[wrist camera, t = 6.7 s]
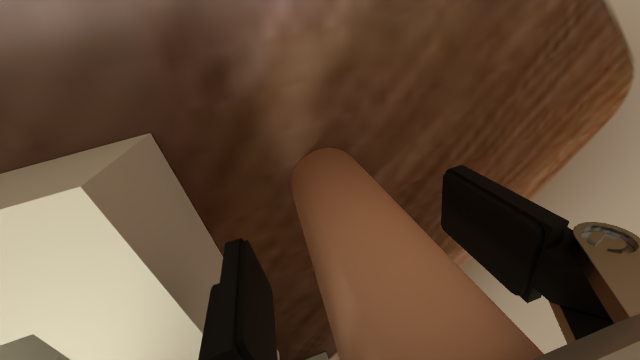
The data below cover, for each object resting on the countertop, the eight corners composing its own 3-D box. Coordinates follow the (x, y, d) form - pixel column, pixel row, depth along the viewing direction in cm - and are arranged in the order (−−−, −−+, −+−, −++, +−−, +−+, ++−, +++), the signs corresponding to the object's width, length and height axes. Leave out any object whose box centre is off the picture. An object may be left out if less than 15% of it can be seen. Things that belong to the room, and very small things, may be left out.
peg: (281, 160, 13) (412, 639, 2) (353, 138, 13) (740, 458, 3) (300, 219, 15) (418, 622, 4) (363, 199, 15) (607, 518, 5)
